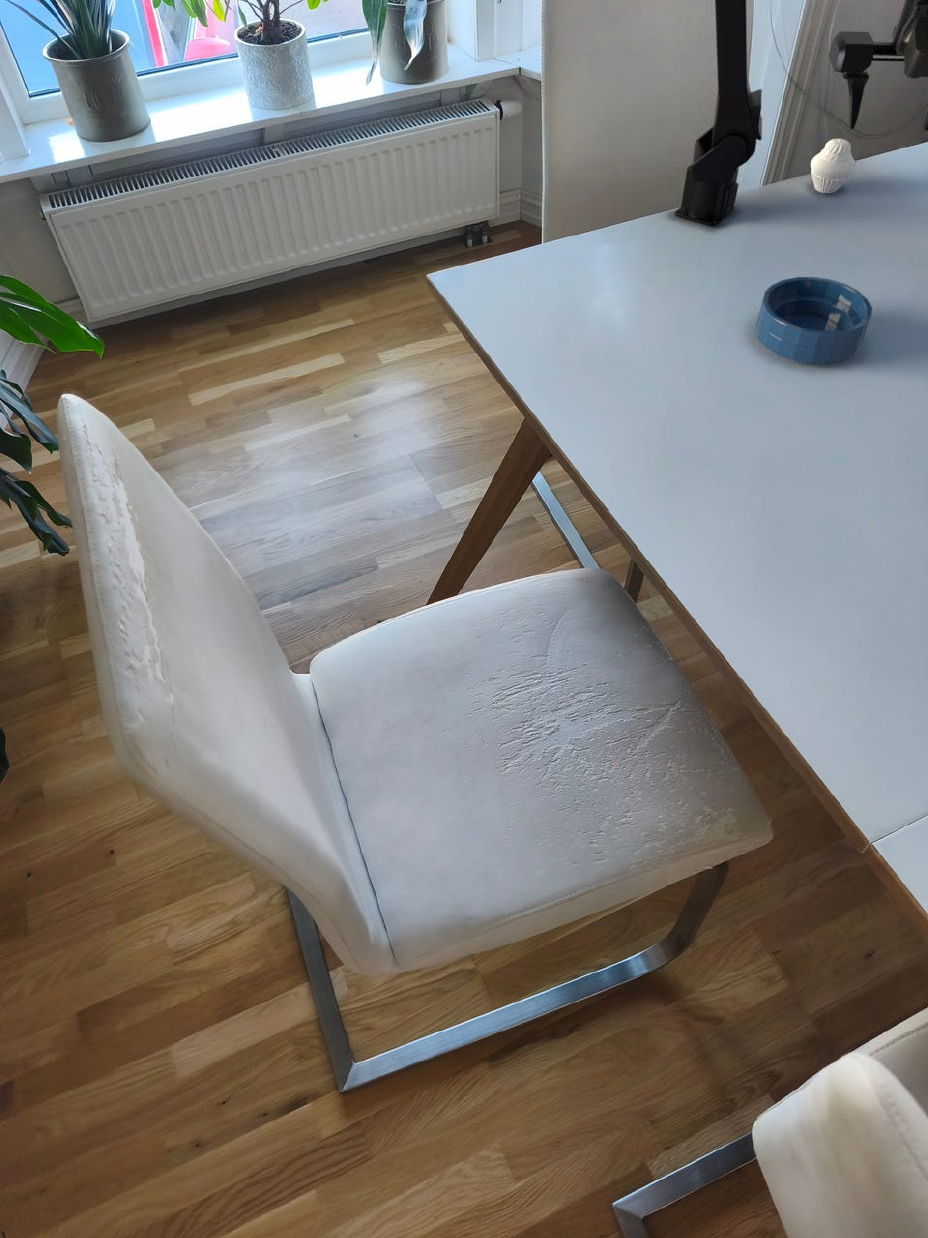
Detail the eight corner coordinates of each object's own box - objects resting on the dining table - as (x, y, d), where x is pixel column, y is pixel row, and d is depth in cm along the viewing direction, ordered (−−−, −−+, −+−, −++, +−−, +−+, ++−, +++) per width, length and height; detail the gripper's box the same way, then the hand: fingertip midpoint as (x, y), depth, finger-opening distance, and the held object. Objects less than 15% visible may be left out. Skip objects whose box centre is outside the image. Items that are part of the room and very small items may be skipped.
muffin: (805, 177, 129) (818, 127, 124) (847, 181, 128) (862, 131, 122) (803, 196, 125) (817, 145, 120) (847, 199, 124) (863, 149, 119)
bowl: (736, 344, 102) (744, 310, 99) (781, 300, 108) (790, 266, 105) (833, 380, 97) (846, 345, 94) (875, 331, 103) (888, 297, 100)
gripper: (865, 4, 94) (822, 153, 106) (1044, 6, 92) (980, 157, 104) (849, -27, 100) (810, 117, 113) (1015, -26, 99) (958, 120, 111)
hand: (888, 128), depth 110 cm, fingers open, 9 cm apart
